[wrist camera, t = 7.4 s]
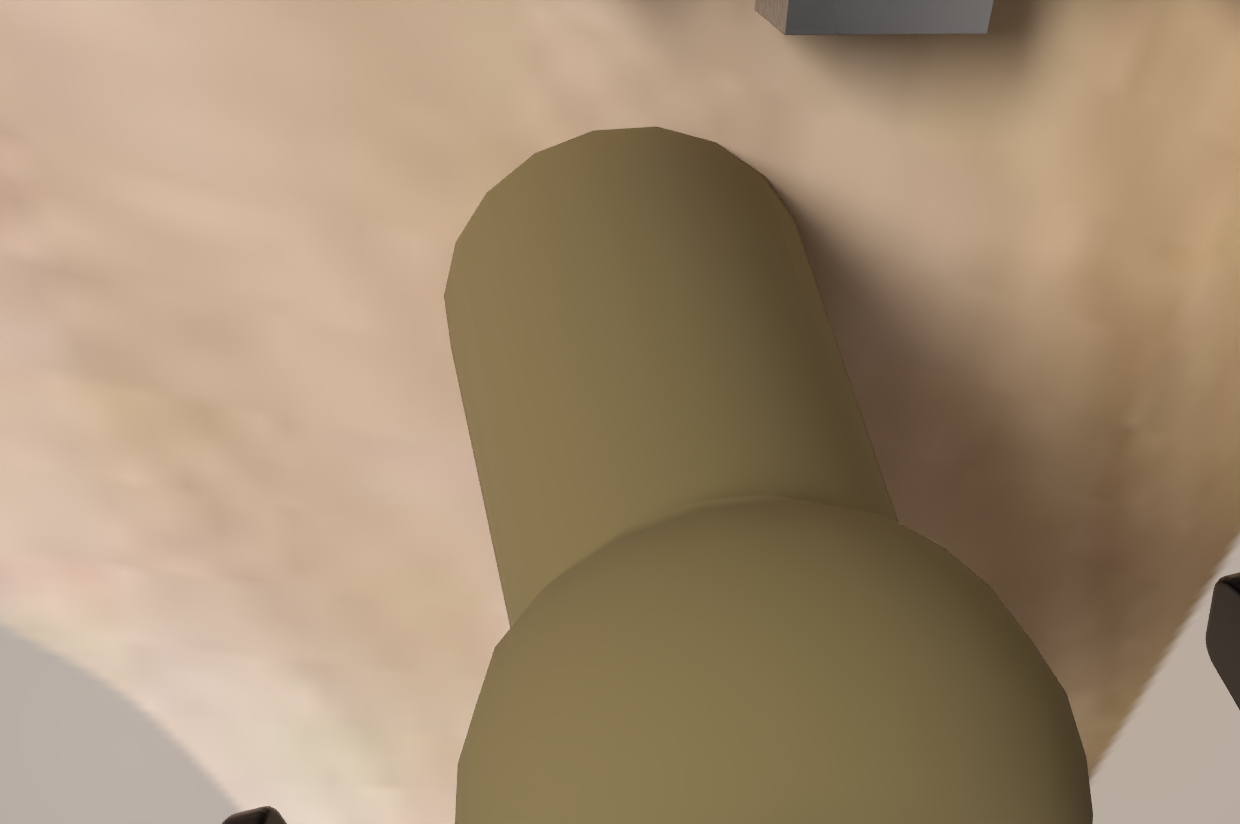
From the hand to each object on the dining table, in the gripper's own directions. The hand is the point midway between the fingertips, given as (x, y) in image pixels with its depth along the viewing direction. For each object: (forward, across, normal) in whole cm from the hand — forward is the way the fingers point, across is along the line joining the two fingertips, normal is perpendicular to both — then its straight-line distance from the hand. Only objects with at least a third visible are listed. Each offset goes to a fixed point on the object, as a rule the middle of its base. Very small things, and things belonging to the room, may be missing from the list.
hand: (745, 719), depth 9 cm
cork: (+9, 0, 0) cm, 9 cm away
